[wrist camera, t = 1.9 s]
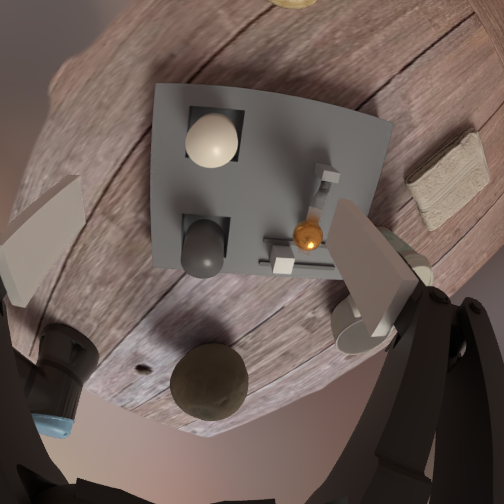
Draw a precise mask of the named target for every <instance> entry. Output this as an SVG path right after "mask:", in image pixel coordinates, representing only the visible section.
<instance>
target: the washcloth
mask: <svg viewBox="0 0 504 504" xmlns="http://www.w3.org/2000/svg"><path fill="white" fill-rule="evenodd" d="M456 139H457V140H456ZM455 140H456V141H455ZM489 177H490V170H489V169H488V166H487V163H486V158H485V155H484V151H483V146H482V143H481V140H480V137H479V132H478V131H475V130H474V128H473V127H471V128H469V129H468V130H467V131H464V132H463V134H461V135H460V137H459V136H456V137H455V138H454V139H453V140H451V141H450V142H449V143H448V144H447V145H445V146H444V147H443V148H442V149H441V150H439V151H438V152H437V153H436V154H435V155H433V156H432V157H431V158H430V159H429V160H427V161H426V162H425V163H424V164H423V165H422V166H420V167H419V168H418V169H416V170H415V171H414V172H413V173H411V174H410V175H409V176H408V177H407V178H406V181H405V183H406V186H407V188H408V190H409V192H410V194H411V195H412V197H413V198H414V199H415V200H416V203H417V205H418V207H419V212H420V215H421V217H422V219H423V222H424V223H425V225H426V227H427V229H428V230H429V231H433V230H436V229H437V228H438V227H439V226H441V225H442V224H443V223H444V222H446V220H447V219H448V218H450V217H451V216H452V215H453V214H454V213H456V212H457V211H458V210H459V209H461V208H462V207H463V206H464V205H465V204H467V202H468V201H470V200H471V199H472V198H473V196H475V195H476V194H477V193H478V192H479V191H480V190H482V189H483V188H484V187H485V185H487V184H488V182H489V180H490V178H489Z"/></svg>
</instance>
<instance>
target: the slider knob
mask: <svg viewBox="0 0 504 504" xmlns="http://www.w3.org/2000/svg"><path fill="white" fill-rule="evenodd" d="M294 261H295V257H294V254H293V252H292V249H291V246H285V245H273V246H272V251H271V255H270V264H271V268H272V273H278V274H291V272H292V268H293V265H294Z"/></svg>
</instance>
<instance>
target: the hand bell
mask: <svg viewBox="0 0 504 504" xmlns="http://www.w3.org/2000/svg"><path fill="white" fill-rule="evenodd" d="M268 1H269V2H271V3H273V4H275V5H277V6H280V7H283V8H288V9H301V8H305V7H308V6H311V5H312V4H314V3H315V2H317V0H268Z"/></svg>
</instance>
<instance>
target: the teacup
mask: <svg viewBox="0 0 504 504" xmlns="http://www.w3.org/2000/svg"><path fill="white" fill-rule="evenodd" d="M331 328H332V332H333V336H334V340H335V346H336V349H337V350H338V351H339V352H341V353H343V354H347V355H356V354H361V353H365V352H369V351H370V350H373V349H375V348H377V347H378V346H380V345H381V344H382V343H383V342H385V341H386V340H387V339H388V337H389V336H390V334H391V333H392V331H393V327H392V328H391V330H390V331H389V333H388V334H387V336H377V337H371V336H370V334H369V332H368V329H367V327H366V325H365V323H364V321H363V319H362V317H361V315H360V312H359V310H358V308H357V306H356V304H355V302H354V300H353V298H352V296H351V294H350V295H348V296H347V298H345V299H344V300H342V301H341V302H340V303H339V304H338V305H337V306H336V307H335V309H334V311H333V313H332V315H331Z"/></svg>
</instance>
